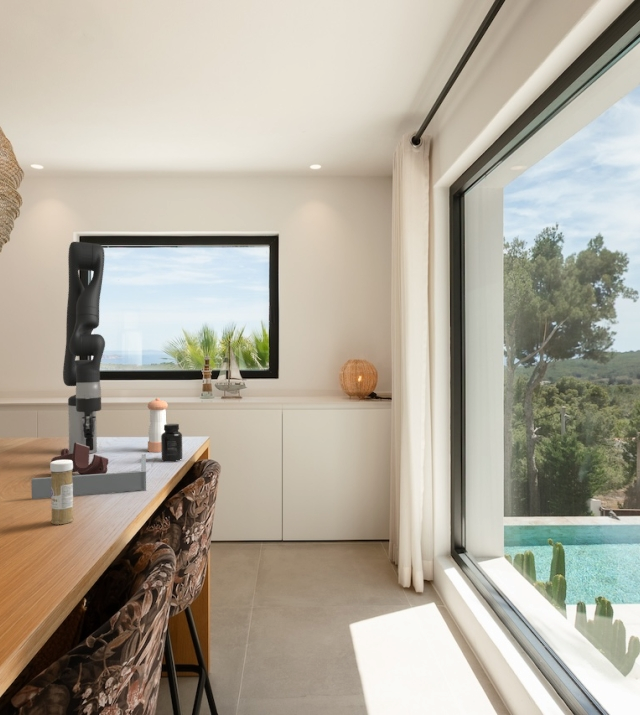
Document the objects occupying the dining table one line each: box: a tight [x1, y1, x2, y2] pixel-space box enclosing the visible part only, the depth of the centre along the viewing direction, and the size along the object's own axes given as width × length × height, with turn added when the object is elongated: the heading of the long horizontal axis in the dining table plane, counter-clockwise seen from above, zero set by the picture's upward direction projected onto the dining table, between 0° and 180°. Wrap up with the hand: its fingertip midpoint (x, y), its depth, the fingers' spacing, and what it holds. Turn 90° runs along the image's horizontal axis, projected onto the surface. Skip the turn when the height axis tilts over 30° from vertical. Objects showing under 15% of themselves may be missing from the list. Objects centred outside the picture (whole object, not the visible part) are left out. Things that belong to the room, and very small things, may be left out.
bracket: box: [50, 443, 109, 475], centre depth 169 cm, size 6×17×10 cm, turn 77°
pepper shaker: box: [147, 397, 169, 453], centre depth 208 cm, size 7×7×19 cm
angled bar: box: [30, 453, 147, 500], centre depth 160 cm, size 25×28×5 cm
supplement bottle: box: [160, 423, 183, 462], centre depth 191 cm, size 7×7×12 cm
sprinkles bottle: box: [49, 460, 74, 525], centre depth 125 cm, size 5×5×13 cm
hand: (89, 450), depth 183 cm, fingers closed
